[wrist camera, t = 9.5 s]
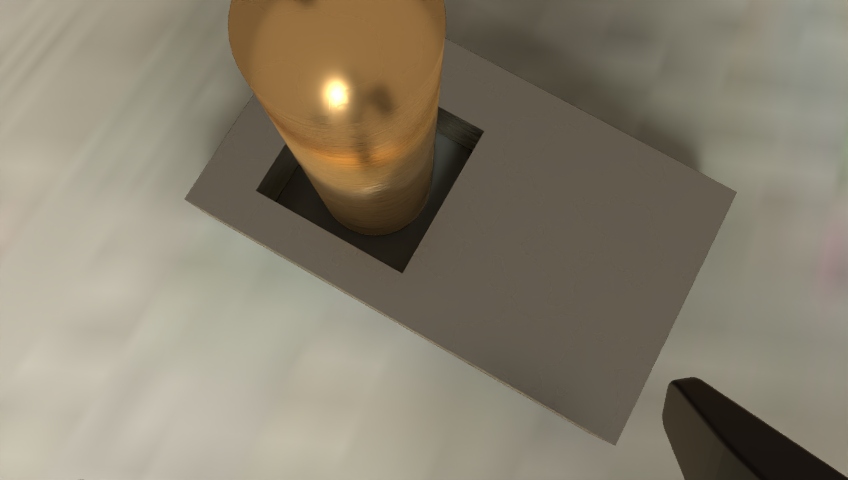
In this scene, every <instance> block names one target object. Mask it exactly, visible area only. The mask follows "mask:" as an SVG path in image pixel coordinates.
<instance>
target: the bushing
mask: <svg viewBox="0 0 848 480" xmlns="http://www.w3.org/2000/svg"><path fill="white" fill-rule="evenodd" d="M228 31H229V41H230V45H231V49H232V53H233V56H234V58H235V61H236V63H237V66H238V68H239V69H240V71H241V73H242V74H243V76H244V78H245V79H246V81H247V82H248V84H249V86H250V87H251V89H252V90H253V92H254V93H255V95H256V97H257V98H258V100H259V101H260V103H261V104H262V106H263V108H264V109H265V111H266V112H267V114H268V115H269V117H270V119H271V120H272V122H273V123H274V125H275V126H276V128H277V130H278V131H279V133H280V134H281V136H282V137H283V139H284V141H285V142H286V144H287V145H288V147H289V148H290V150H291V152H292V153H293V155H294V156H295V158H296V159H297V161H298V163H299V164H300V166H301V167H302V169H303V170H304V172H305V174H306V175H307V177H308V178H309V180H310V181H311V183H312V185H313V186H314V188H315V189H316V191H317V192H318V194H319V196H320V197H321V199H322V200H323V202H324V203H325V205H326V207H327V208H328V210H329V211H330V213H331V214H332V215H333V217H334V218H335V219H336V220H337V221H338V222H339V223H341V224H342V225H344V226H345V227H347V228H348V229H350V230H352V231H355V232H358V233H361V234H365V235H385V234H389V233H393V232H396V231H398V230H400V229H402V228H404V227H406V226H407V225H409V224H410V223H411V222H412V221H414V220H415V219H416V217H417V216H418V215H419V214H420V213H421V211H422V210H423V208H424V206H425V205H426V202H427V200H428V197H429V193H430V187H431V177H432V166H433V156H434V145H435V135H436V124H437V114H438V104H439V93H440V83H441V72H442V62H443V51H444V41H445V31H446V12H445V6H444V1H443V0H232V1H231V5H230V11H229V20H228Z"/></svg>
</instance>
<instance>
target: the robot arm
mask: <svg viewBox="0 0 848 480" xmlns="http://www.w3.org/2000/svg"><path fill="white" fill-rule="evenodd" d="M662 420H663V425H664V429H665V432H666V434H667V437H668V439H669V441H670V444H671V446H672V449H673V451H674V454H675V456H676V459H677V461H678V464H679V466H680V469H681V471H682V474H683V476H684V479H685V480H848V478H847V477H846V476H844V475H843V474H841V473H840V472H838V471H837V470H835V469H834V468H832V467H831V466H829V465H828V464H826V463H825V462H823V461H822V460H820V459H819V458H817V457H816V456H814V455H813V454H811V453H810V452H809V451H807V450H806V449H804V448H803V447H801V446H800V445H798V444H797V443H795V442H794V441H792V440H791V439H789V438H788V437H786V436H785V435H783V434H782V433H780V432H779V431H777V430H776V429H774V428H773V427H771V426H770V425H768V424H767V423H765V422H764V421H762V420H761V419H759V418H758V417H756V416H755V415H753V414H752V413H750V412H749V411H747V410H746V409H744V408H743V407H741V406H740V405H738V404H737V403H735V402H734V401H732V400H731V399H729V398H728V397H726V396H725V395H723V394H722V393H720V392H719V391H717V390H716V389H714V388H713V387H711V386H710V385H708V384H707V383H705V382H704V381H702V380H701V379H698V378H695V377H690V378H684V379H678V380H673V381H671V382H670V384H669V385H668V389H667V394H666V399H665V404H664V409H663V414H662Z"/></svg>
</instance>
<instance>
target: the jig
mask: <svg viewBox="0 0 848 480" xmlns="http://www.w3.org/2000/svg"><path fill="white" fill-rule="evenodd" d="M436 131H437V132H439V133H440V134H442V135H444V136H446V137H448V138H450V139H452V140H453V141H455V142H457V143H459V144H461V145H463V146H464V147H466V148H468V149H470V150H472V151H473V152H472V154H471V155H470V157H469V159H468V161H467V162H466V164H465V166H464V167H463V169H462V171H461V173H460V174H459V176H458V178H457V180H456V181H455V183H454V185H453V187H452V188H451V190H450V192H449V194H448V195H447V197H446V199H445V200H444V202H443V204H442V206H441V207H440V209H439V211H438V213H437V214H436V216H435V218H434V220H433V221H432V223H431V225H430V227H429V228H428V230H427V232H426V234H425V235H424V237H423V239H422V240H421V242H420V244H419V246H418V247H417V249H416V251H415V253H414V254H413V256H412V258H411V260H410V261H409V263H408V265H407V267H406V268H405V270H404V272H403V273H400V272H399V271H397V270H395V269H393V268H391V267H390V266H388V265H386V264H384V263H383V262H381V261H379V260H377V259H376V258H374V257H372V256H370V255H368V254H367V253H365V252H363V251H361V250H360V249H358V248H356V247H354V246H353V245H351V244H349V243H347V242H345V241H344V240H342V239H340V238H338V237H337V236H335V235H333V234H331V233H330V232H328V231H326V230H324V229H322V228H321V227H319V226H317V225H315V224H314V223H312V222H310V221H308V220H307V219H305V218H303V217H301V216H299V215H298V214H296V213H294V212H292V211H291V210H289V209H287V208H285V207H283V206H282V205H280V204H278V203H276V202H275V201H276V200H277V198H278V197H279V195H280V194H281V192H282V190H283V189H284V187H285V186H286V184H287V182H288V181H289V179H290V178H291V176H292V175H293V173H294V171H295V170H296V168H297V167H298V165H299V163H298V161H297V159H296V158H295V156H294V155H293V153H292V152H291V150H290V148H289V147H288V145H287V144H286V142H285V141H284V139H283V137H282V136H281V134H280V133H279V131H278V130H277V128H276V126H275V125H274V123H273V122H272V120H271V119H270V117H269V115H268V114H267V112H266V111H265V109H264V108H263V106H262V104H261V103H260V101H259V100H258V98H257V97H256V95H255V93H254V95H253V96H252V98H251V99H250V101H249V102H248V104H247V105H246V107H245V108H244V110H243V111H242V113H241V114H240V116H239V117H238V119H237V121H236V122H235V124H234V125H233V127H232V128H231V130H230V131H229V133H228V134H227V136H226V137H225V139H224V140H223V142H222V143H221V145H220V146H219V148H218V149H217V151H216V152H215V154H214V155H213V157H212V158H211V160H210V161H209V163H208V164H207V166H206V167H205V169H204V170H203V172H202V173H201V175H200V176H199V178H198V179H197V181H196V183H195V184H194V186H193V187H192V189H191V190H190V192H189V193H188V195H187V196H186V198H185V200H186V201H188V202H189V203H191V204H192V205H194V206H195V207H197V208H199V209H200V210H202V211H203V212H205V213H206V214H208V215H209V216H211V217H213V218H215V219H216V220H218V221H220V222H222V223H223V224H225V225H227V226H229V227H230V228H232V229H234V230H235V231H237V232H239V233H241V234H242V235H244V236H246V237H248V238H249V239H251V240H253V241H255V242H256V243H258V244H260V245H262V246H263V247H265V248H267V249H269V250H270V251H272V252H274V253H276V254H277V255H279V256H281V257H283V258H284V259H286V260H288V261H290V262H291V263H293V264H295V265H297V266H298V267H300V268H302V269H304V270H305V271H307V272H309V273H311V274H312V275H314V276H316V277H318V278H319V279H321V280H323V281H325V282H326V283H328V284H330V285H332V286H333V287H335V288H337V289H339V290H340V291H342V292H344V293H346V294H347V295H349V296H351V297H353V298H354V299H356V300H358V301H360V302H361V303H363V304H365V305H367V306H368V307H370V308H372V309H374V310H375V311H377V312H379V313H381V314H382V315H384V316H386V317H388V318H389V319H391V320H393V321H395V322H396V323H398V324H400V325H402V326H403V327H405V328H407V329H409V330H410V331H412V332H414V333H416V334H417V335H419V336H421V337H422V338H424V339H426V340H428V341H429V342H431V343H433V344H435V345H436V346H438V347H440V348H442V349H443V350H445V351H447V352H449V353H450V354H452V355H454V356H456V357H457V358H459V359H461V360H463V361H464V362H466V363H468V364H470V365H471V366H473V367H475V368H477V369H478V370H480V371H482V372H484V373H485V374H487V375H489V376H491V377H492V378H494V379H496V380H498V381H499V382H501V383H503V384H505V385H506V386H508V387H510V388H512V389H513V390H515V391H517V392H519V393H520V394H522V395H524V396H526V397H527V398H529V399H531V400H533V401H534V402H536V403H538V404H540V405H541V406H543V407H545V408H547V409H548V410H550V411H552V412H554V413H555V414H557V415H559V416H561V417H562V418H564V419H566V420H568V421H569V422H571V423H573V424H575V425H576V426H578V427H580V428H582V429H583V430H585V431H587V432H589V433H590V434H592V435H594V436H596V437H598V438H600V439H602V440H604V441H607V442H609V443H611V444H613V445H616V443H617V441H618V439H619V437H620V434H621V432H622V430H623V428H624V426H625V424H626V422H627V420H628V418H629V416H630V414H631V412H632V409H633V407H634V405H635V403H636V401H637V399H638V397H639V395H640V393H641V391H642V389H643V387H644V385H645V382H646V380H647V378H648V376H649V374H650V372H651V370H652V368H653V366H654V364H655V362H656V360H657V357H658V355H659V353H660V351H661V349H662V347H663V345H664V343H665V341H666V339H667V337H668V335H669V332H670V330H671V328H672V326H673V324H674V322H675V320H676V318H677V316H678V314H679V312H680V310H681V307H682V305H683V303H684V301H685V299H686V297H687V295H688V293H689V291H690V289H691V287H692V285H693V282H694V280H695V278H696V276H697V274H698V272H699V270H700V268H701V266H702V264H703V262H704V260H705V258H706V255H707V253H708V251H709V249H710V247H711V245H712V243H713V241H714V239H715V237H716V235H717V233H718V230H719V228H720V226H721V224H722V222H723V220H724V218H725V216H726V214H727V212H728V210H729V208H730V205H731V203H732V201H733V199H734V197H735V195H736V193H737V192H736V191H734V190H732V189H730V188H728V187H726V186H724V185H722V184H720V183H719V182H717V181H715V180H713V179H711V178H709V177H707V176H705V175H703V174H702V173H700V172H698V171H696V170H694V169H692V168H690V167H688V166H686V165H685V164H683V163H681V162H679V161H677V160H675V159H673V158H671V157H669V156H668V155H666V154H664V153H662V152H660V151H658V150H656V149H654V148H652V147H650V146H649V145H647V144H645V143H643V142H641V141H639V140H637V139H635V138H633V137H632V136H630V135H628V134H626V133H624V132H622V131H620V130H618V129H616V128H615V127H613V126H611V125H609V124H607V123H605V122H603V121H601V120H599V119H598V118H596V117H594V116H592V115H590V114H588V113H586V112H584V111H582V110H580V109H579V108H577V107H575V106H573V105H571V104H569V103H567V102H565V101H563V100H562V99H560V98H558V97H556V96H554V95H552V94H550V93H548V92H546V91H545V90H543V89H541V88H539V87H537V86H535V85H533V84H531V83H529V82H528V81H526V80H524V79H522V78H520V77H518V76H516V75H514V74H512V73H510V72H509V71H507V70H505V69H503V68H501V67H499V66H497V65H495V64H493V63H492V62H490V61H488V60H486V59H484V58H482V57H480V56H478V55H476V54H475V53H473V52H471V51H469V50H467V49H465V48H463V47H461V46H459V45H458V44H456V43H454V42H452V41H450V40H448V39H446V38H445V41H444V51H443V62H442V72H441V83H440V93H439V104H438V114H437V124H436Z"/></svg>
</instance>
